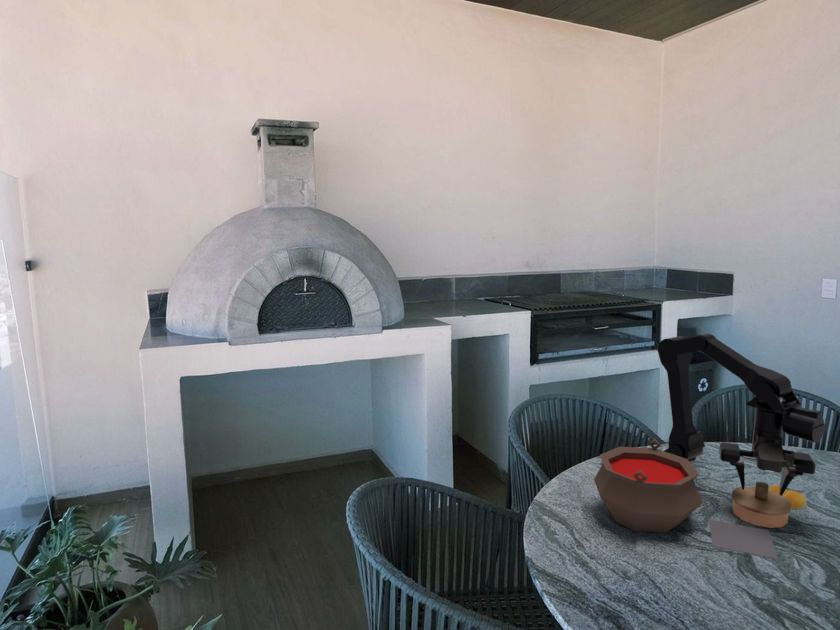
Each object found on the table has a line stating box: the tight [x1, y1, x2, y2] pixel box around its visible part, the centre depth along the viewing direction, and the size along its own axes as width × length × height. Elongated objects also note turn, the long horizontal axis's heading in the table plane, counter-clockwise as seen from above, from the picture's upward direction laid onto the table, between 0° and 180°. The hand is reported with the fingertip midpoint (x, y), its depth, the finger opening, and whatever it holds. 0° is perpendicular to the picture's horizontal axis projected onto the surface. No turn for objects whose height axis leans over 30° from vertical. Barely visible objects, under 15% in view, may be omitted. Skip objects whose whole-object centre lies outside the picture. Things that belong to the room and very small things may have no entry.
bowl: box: [732, 500, 790, 529], centre depth 136 cm, size 11×11×4 cm
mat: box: [708, 519, 778, 560], centre depth 127 cm, size 12×12×1 cm
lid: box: [731, 481, 792, 515], centre depth 135 cm, size 12×12×4 cm
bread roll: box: [768, 484, 808, 510], centre depth 143 cm, size 8×9×4 cm
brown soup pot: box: [593, 438, 703, 533], centre depth 135 cm, size 24×24×16 cm
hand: (761, 491), depth 135 cm, fingers open, 7 cm apart
